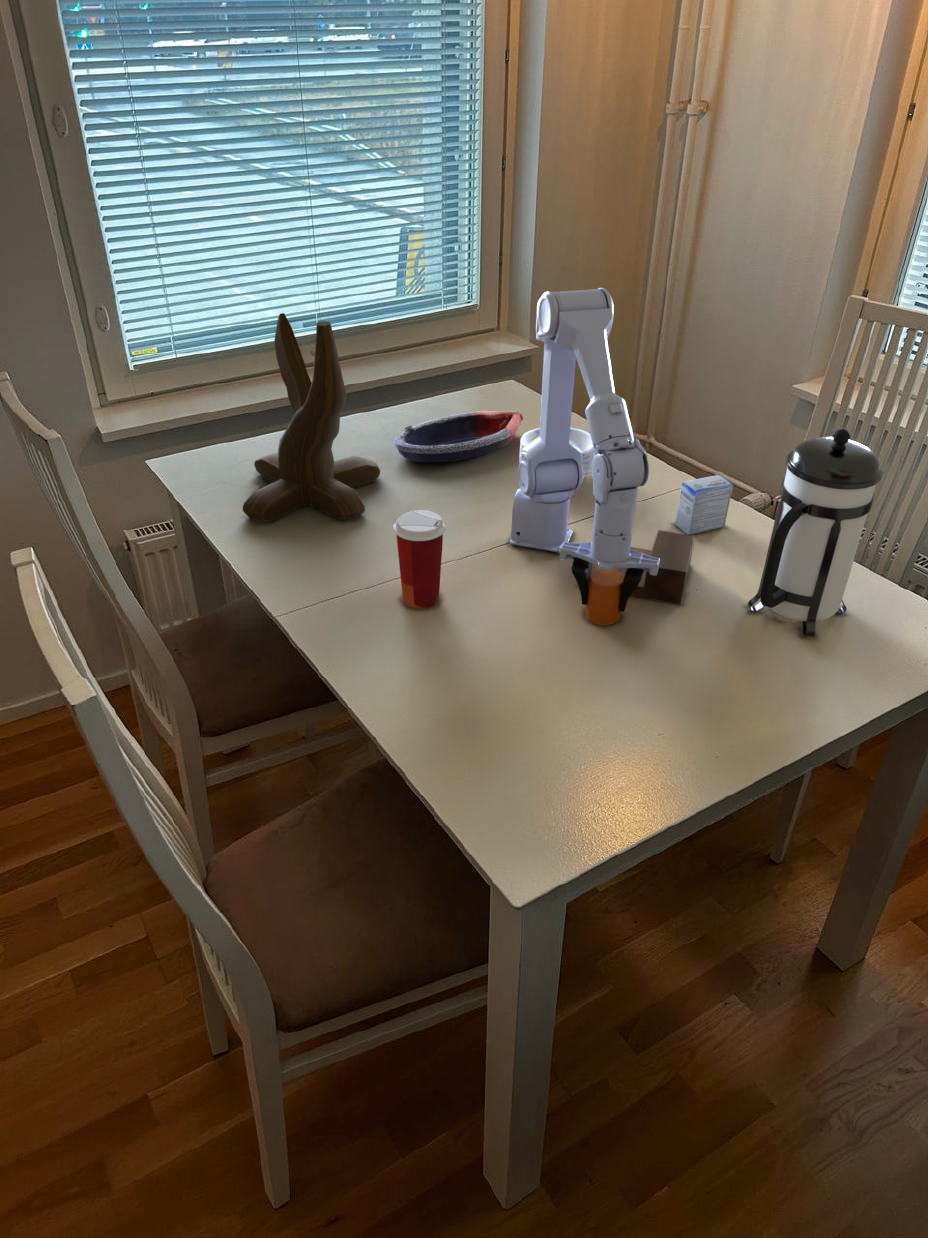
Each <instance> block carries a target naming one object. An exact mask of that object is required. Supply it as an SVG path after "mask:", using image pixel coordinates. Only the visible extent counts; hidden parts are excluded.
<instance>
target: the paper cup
mask: <svg viewBox="0 0 928 1238" xmlns="http://www.w3.org/2000/svg"><path fill="white" fill-rule="evenodd" d="M392 529H393V532H394V533H395V535H396V547H397V557H398V565H399V574H400V575H399V576H400V584H401V586H400V587H401V593H402V600H403V603H404V604H405V605H406V606H408V607H410V608H412V609H417V610H424V609H429V608H432V607H434V606H435V605H437V603H438V602H439V598H440V587H441V585H440V584H441V573H442V572H441V570H442V559H443V557H442V556H443V542H444V541H443V540H444V533H445V531H446V525H445V523H444V521H443V519H442V517H441V516H440V515H439V514H438V513H436V512H433V511H431V510H425V509H414V510H410V511H407V512H404V513H402V514H400V515H399V516H398V518H397V519H396V520H395V523H394V524H393V526H392Z"/></svg>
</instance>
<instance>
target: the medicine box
mask: <svg viewBox="0 0 928 1238" xmlns="http://www.w3.org/2000/svg"><path fill="white" fill-rule="evenodd" d="M733 487H734V485H733V484H732V483H731V482H730V481H728V480H727V479H726V478H724V477H722V476H720V475H719V474H716V475H711V476H706V477H700V478H696V479H691V480H686V481H683V482H681V485H680V490H679V491H680V492H679V499H678V503H677V510H676V515H675V516H676V517H675V521H674V522H675V523H674V524H675V525H676V526H677V527H678V528H679V529H680V530H681V531H683V532H684V533H685V534H686V535H693V534H694V535H695V534H698V533H702V532H707V531H711V530H716V529H720V528H725V527H726V523H727V522H726V521H727V517H728V512H729V508H730V502H731V497H732V494H733V493H732V492H733Z"/></svg>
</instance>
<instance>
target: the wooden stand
mask: <svg viewBox="0 0 928 1238" xmlns="http://www.w3.org/2000/svg"><path fill="white" fill-rule="evenodd" d="M315 328H316V329H315V346H314V358H313V371H312V380H311V378H310V375H309V373H308V370H307V367H306V363H305V360H304V358H303V354H302V351H301V348H300V346H299V343H298V341H297V338H296V335H295V332H294V329H293V328H292V325H291V323H290V321H289V320H288V318H287V315H286V314H285V313H284V312H281V313H279V315H278V317H277V321H276V329H275V334H274V339H273V340H274V348H275V356H276V360H277V361H276V362H277V364H278V368H279V372H280V376H281V377H280V378H282V382H283V383H284V385H285V388H286V392H287V393H286V394H287V398H288V401H289V404H290V406H291V408H292V410H293V411H292V412H293V413H292V418H291V420H290V422H289V423H288V425H287V427H286V429H285V430H284V432H283V434H282V435H281V437H280V439H279V442H278V447H277V452H274V453H273V452H272V453H269V454H266V455H263V456H261V457H259V458H257V459H255V460H254V464H253V465H254V469H255V471H256V472H257V473H258V474H259V475H260V476H261V477H262V478H263V479H265V480H267V481H269V482H270V484H267V485H266V486H263V487H261V488H259V489H257V490H255V491H254V492H252V493H251V494H250V495H249V497H248V498H247V499H246V500H245V501H244V502H243V505H242V511H243V513H244V515H246V516H247V517H248V518H249V519H251V520H254V521H256V522H263V523H264V522H272V521H276V520H278V519H280V518H282V517H284V516H286V515H287V514H289V513H292V512H293V511H295V510H296V509H299V508H300V507H302V506H313V507H315V508H316V509H318V510H320V511H321V512H324V513H325V514H326V515H328V516H330V517H332V518H334V519H337V520H342V521H343V520H349V519H355V518H356V517H358V516H361V515H362V514H363V513H365V511H366V506H365V504H364V502H363V501H362V499H361V497H360V495H359V494H358V492H357V490H356V489H355V488H358V487H361V486H366V485H368V484H370V483H372V482H373V481H375V480H376V479H378V478H379V477H380V475H381V470H380V467H379V465H378V464H377V463H376V462H375V461H374V460H372V459H369V458H366V457H361V456H357V455H352V456H347V457H343V458H340V459H337V460H335V459H334V458H335V457H334V453H333V444H334V441H335V439H336V438H337V437H338V435H339V433H340V424H341V413H342V411H343V409H344V408H345V406H346V403H347V402H346V401H347V396H348V393H347V389H346V385H345V381H344V377H343V373H342V367H341V363H340V357H339V354H338V349H337V344H336V340H335V335H334V332H333V328H332V323H331V322H329V321H327V320H321V321H317V322H316V327H315Z"/></svg>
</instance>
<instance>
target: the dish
mask: <svg viewBox="0 0 928 1238" xmlns="http://www.w3.org/2000/svg"><path fill="white" fill-rule="evenodd" d="M523 420H524V416H523V413H520V412H519V411H506V410H505V411H503V410H488V411H487V410H483V411H481V410H480V411H470V412H462V413H456V414H451V415H446V416H442V417H438V418H434V419H431V420H427V421H424V422H421V423H418V424H415V425H407V426H406V427H405V428H404V429H403V430H402V431H401V432H400V433H398V435H397V436H396V438H395V439H394V447H395V448H396V449H397V451H398V453H399V454H400V455H401V456H402V457H403V458H404V459H406V460H408V461H411V462H418V463H445V462H446V463H447V462H456V461H462V460H468V459H472V458H476V457H480V456H483V455H486V454H489V453H492V452H494V451H497V450H500V449H502V448H504V447H505V446H507V445H508V444H509V443H510V442H511V441H512V440H513V439H514V437H515V435H516V434H517V432H518V431H519V429H520V427H521V426H522V421H523Z"/></svg>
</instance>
